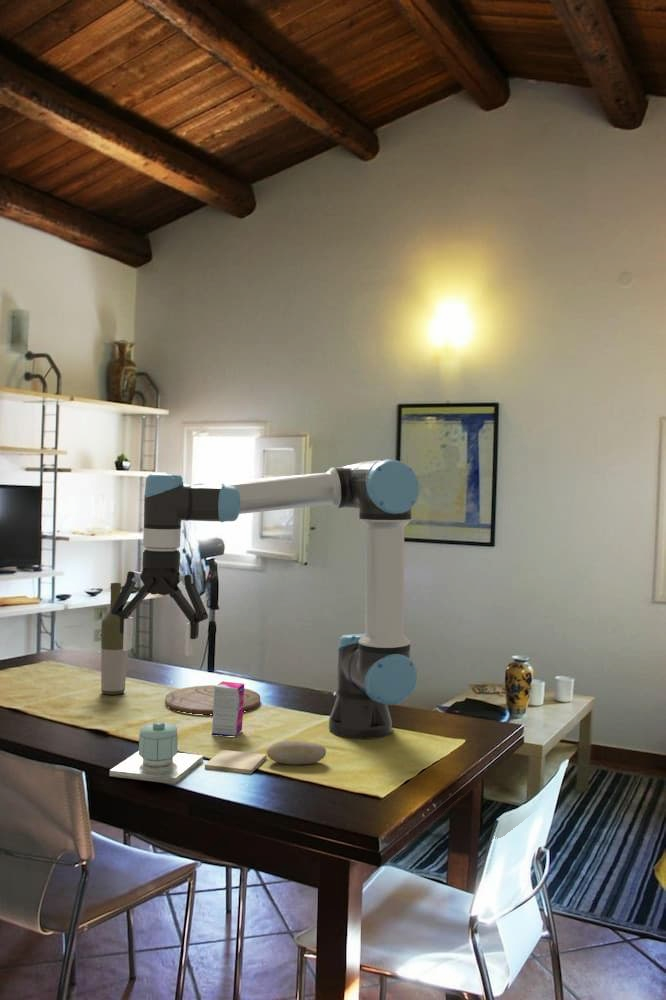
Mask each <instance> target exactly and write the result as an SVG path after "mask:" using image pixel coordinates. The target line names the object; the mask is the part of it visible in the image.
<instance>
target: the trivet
mask: <svg viewBox="0 0 666 1000" xmlns="http://www.w3.org/2000/svg"><path fill="white" fill-rule="evenodd" d="M216 685H217V684H215V685H210V684H209V685H208V684H207V685H198V686H197V685H196V686H188V687H183V688H178V689H175V690H173V691H170V692H169V693H168V694H166V695H165V699H164V705H165V704H166V705H165V706H166V708H167V707H169V708H170V709H169V708H168V709H169V710H171V709H172V710H171V711H173V710H175V711H174V712H176V711H180V712H186V713H192V714H203V715H210V714H212V715H213V705H214V687H215V686H216ZM260 706H261V695H260V694H259V693H258V692H257V691H254V690H252V689H249V688H245V687H244V701H243V712H244V711H248V712H250V711H249V710H251V711H253V710H255V709H257V708H258V707H260ZM244 713H245V712H244Z"/></svg>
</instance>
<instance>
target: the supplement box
mask: <svg viewBox="0 0 666 1000" xmlns="http://www.w3.org/2000/svg"><path fill="white" fill-rule="evenodd" d="M215 685H216V686H215V687H214V705H213V716H212V726H211V727H212V728H211V736H213V735H222V736H221V737H223V736H235V737H237V735H238V733H239V732H240V731H241V730H242V731H243V719H244V717H243V716H244V713H243V701H244V688H245V683H242V682H241V683H240V682H232V681H231V682H230V681H221V682H220V683H218V684H215ZM242 731H241V732H242ZM241 732H240V733H241ZM240 733H239V734H240Z"/></svg>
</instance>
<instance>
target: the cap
mask: <svg viewBox="0 0 666 1000" xmlns="http://www.w3.org/2000/svg"><path fill="white" fill-rule="evenodd" d="M178 737H179V736H178V726H176V725H175V724H172V723H167V722H164V721H154V722H153V723H149V724H146V725H143V726H141V727H140V729H139V735H138V751H139V755H140V756H141V757H142V758H144V759H150V760H162V759H169V758H172V757H174V756H175V755H176V754H177V753H178V746H179V745H178V744H179V743H178V741H179V738H178Z"/></svg>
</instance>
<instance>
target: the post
mask: <svg viewBox="0 0 666 1000" xmlns="http://www.w3.org/2000/svg"><path fill="white" fill-rule="evenodd" d="M203 762H204V755H200V754H193V753H184V752H183V753H182V752H177V754H176V755H175V756H174V757H172V758H169V759H162V760H150V759H144V758H142V757H141V756H140V755H139V750H138V751H136V752H134V753H133V754H131V755H130V756H129V757H127V758H126V759H124V760H123V761H121V762H119V763H118V764H117V765H115V766H114V767H113V768H111V769H109V777H113V778H120V779H121V778H122V779H123V778H124V779H127V780H128V779H131V780H139V781H147V782H155V783H162V784H170V785H172V784H173V785H176V784H178V783H179V782H180V781H181V780H182V779H184V778H185V777H186V776H188V775H189V774H190V773H191V772H192V771H193V770H194V769H196V768H197V767H198V766H199V765H200V764H201V763H203Z"/></svg>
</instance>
